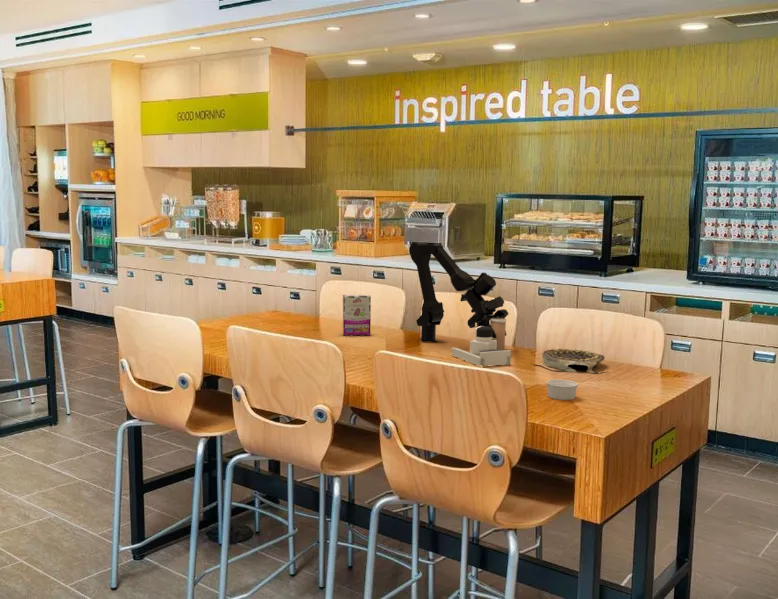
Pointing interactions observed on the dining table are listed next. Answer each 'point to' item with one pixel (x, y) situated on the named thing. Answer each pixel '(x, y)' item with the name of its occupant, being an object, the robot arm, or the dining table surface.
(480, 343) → the medicine bottle
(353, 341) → the dining table surface
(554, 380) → the ramekin
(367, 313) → the candy bar box
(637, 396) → the dining table surface
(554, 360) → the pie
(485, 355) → the lane
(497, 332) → the spice jar
